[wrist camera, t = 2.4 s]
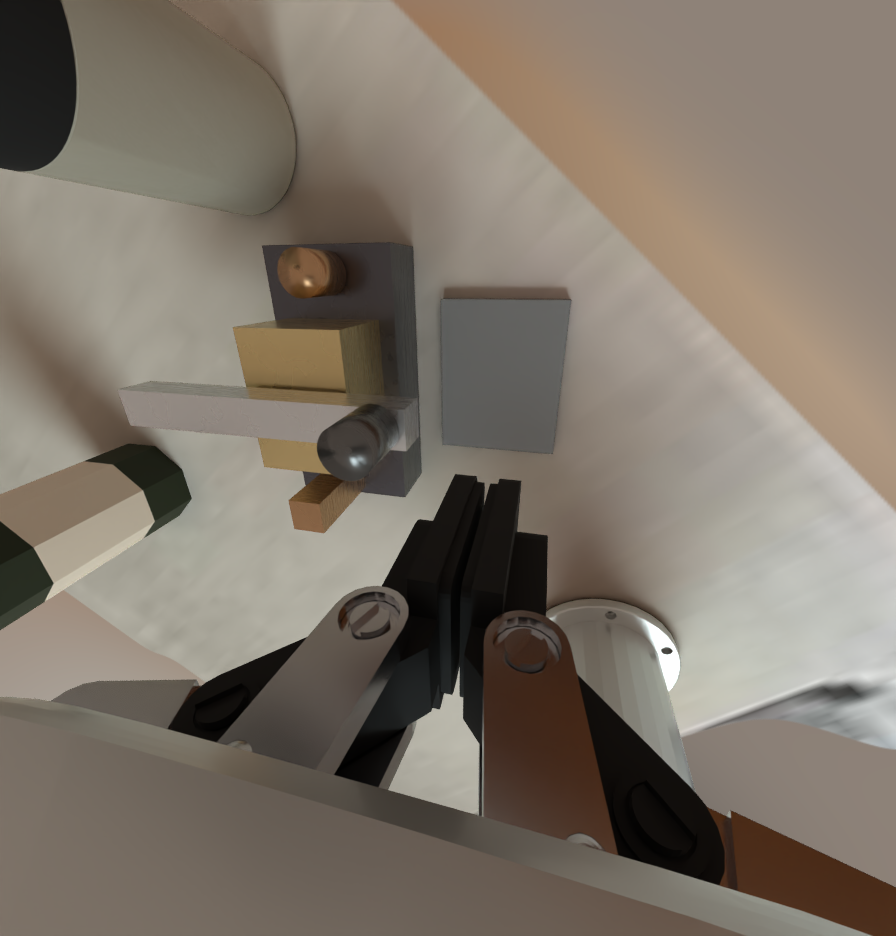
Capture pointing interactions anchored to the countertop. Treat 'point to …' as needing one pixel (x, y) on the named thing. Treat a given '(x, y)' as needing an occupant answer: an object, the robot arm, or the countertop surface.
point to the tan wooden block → (309, 370)
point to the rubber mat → (502, 372)
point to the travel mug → (140, 104)
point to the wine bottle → (81, 521)
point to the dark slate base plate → (392, 303)
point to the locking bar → (283, 419)
